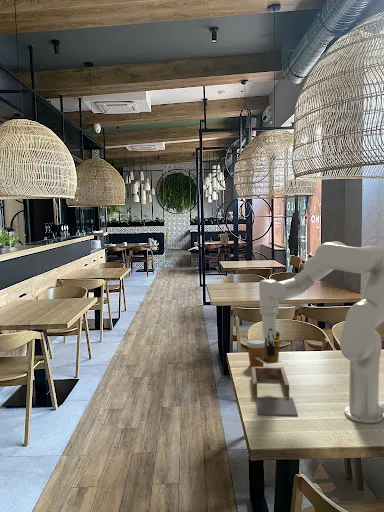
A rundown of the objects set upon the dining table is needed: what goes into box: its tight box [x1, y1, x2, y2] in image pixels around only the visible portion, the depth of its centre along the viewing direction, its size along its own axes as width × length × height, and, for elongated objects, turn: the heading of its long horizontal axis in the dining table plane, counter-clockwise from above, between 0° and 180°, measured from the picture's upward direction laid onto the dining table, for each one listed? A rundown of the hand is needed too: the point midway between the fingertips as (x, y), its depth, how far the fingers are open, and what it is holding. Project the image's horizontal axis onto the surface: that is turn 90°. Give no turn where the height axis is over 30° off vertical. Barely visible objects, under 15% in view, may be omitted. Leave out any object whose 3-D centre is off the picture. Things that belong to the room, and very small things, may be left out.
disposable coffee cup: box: [246, 338, 265, 368], centre depth 198 cm, size 10×10×12 cm
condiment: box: [256, 330, 283, 365], centre depth 170 cm, size 7×8×12 cm
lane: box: [250, 366, 290, 398], centre depth 173 cm, size 14×20×5 cm
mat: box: [255, 396, 299, 417], centre depth 155 cm, size 14×14×1 cm
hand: (270, 352), depth 171 cm, fingers closed on condiment, 6 cm apart
